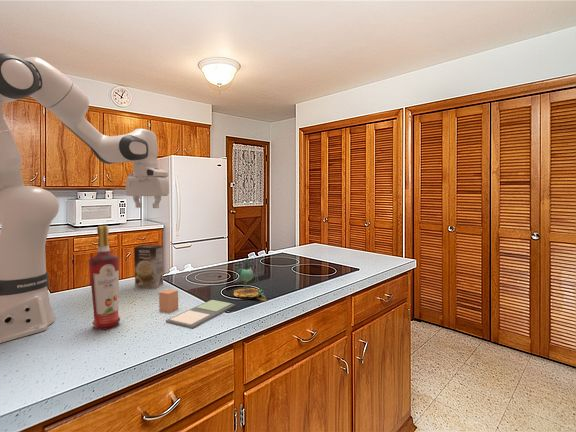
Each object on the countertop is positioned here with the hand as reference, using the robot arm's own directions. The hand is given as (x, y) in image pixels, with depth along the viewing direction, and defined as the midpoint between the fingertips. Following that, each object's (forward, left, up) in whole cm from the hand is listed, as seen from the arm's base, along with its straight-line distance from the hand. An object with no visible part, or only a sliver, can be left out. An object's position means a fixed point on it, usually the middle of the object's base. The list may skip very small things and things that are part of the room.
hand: (147, 207), depth 129 cm
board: (-14, -39, -31) cm, 52 cm away
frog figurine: (+7, -42, -32) cm, 53 cm away
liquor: (-33, -21, -31) cm, 50 cm away
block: (-16, -27, -31) cm, 44 cm away
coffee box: (0, 0, -31) cm, 31 cm away
